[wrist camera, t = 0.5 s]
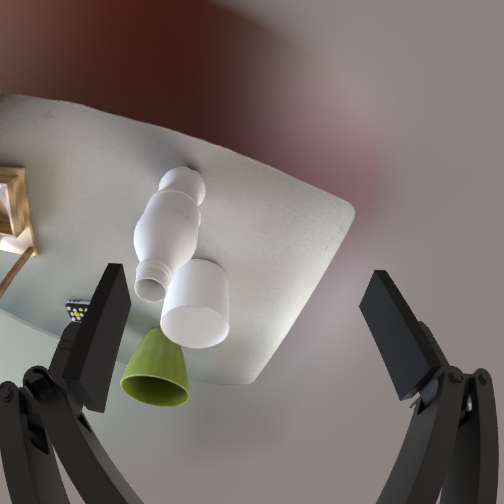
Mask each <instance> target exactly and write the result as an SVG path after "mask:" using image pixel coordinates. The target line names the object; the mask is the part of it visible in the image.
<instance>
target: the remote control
mask: <svg viewBox="0 0 504 504" xmlns="http://www.w3.org/2000/svg"><path fill="white" fill-rule="evenodd" d="M89 304H90V302H85V301H74V300H69V301H67V303H66V309H67V311H68V313H69V315H70V317H71V319H72V320H74V321H78V322H82V320H83V318H84V315H85V313H86V311H87V308H88V306H89Z"/></svg>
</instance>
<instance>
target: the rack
mask: <svg viewBox="0 0 504 504" xmlns="http://www.w3.org/2000/svg"><path fill="white" fill-rule="evenodd" d="M0 249H1V250H5V251H10V252H14V253H19V254H22V256H21V257H20V258H19V259H18V261H17V262H16V263H15V265H14V266H13V267H12V269H11V270H10V271H9V273H8V274H7V275H6V277H5V278H4V280H3V281H2V282H1V284H0V298H1V297H2V295H3V294H4V292H5V291H6V289H7V288H8V286H9V285H10V283H11V282H12V280H13V279H14V277H15V276H16V275H17V273H18V272H19V270H20V269H21V268H22V266H23V265H24V264H25V262H26V261H27V260H28V258H29V257H30V256H32V257H37V255H38V253H37V248H36V243H35V238H34V233H33V228H32V222H31V216H30V209H29V202H28V194H27V184H26V173H25V168H18V167H0Z"/></svg>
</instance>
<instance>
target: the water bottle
mask: <svg viewBox="0 0 504 504" xmlns="http://www.w3.org/2000/svg"><path fill="white" fill-rule="evenodd" d="M204 196H205V183H204V180H203V178H202V176H201V175H200V174H199V173H198V172H197V171H195V170H191V169H189V168H188V167H185V166H180V167H176V168H173V169H171V170H169V171H168V172H167V173H166V174H165V175H164V176H163V178H162V179H161V181H160V184H159V191H157V192H156V193H155V194H154V195H153V196H152V197H151V199H150V200H149V202H148V204H147V206H146V210H145V212H144V214H143V216H142V217H141V218H140V219H139V221H138V223H137V225H136V228H135V232H134V246H135V250H136V253H137V256H138V258H139V260H140V263H139V265H138V267H137V270H136V273H137V275H136V276H137V278H136V281H135V285H134V290H135V292H136V294H137V295H138V296H139V297H140V298H141V299H142V300H144V301H146V302H151V303H155V302H160V301H162V300H163V299H164V298H165V297H166V295H167V292H168V287H169V286H170V284H171V283H172V281H173V276H174V275H173V272H175V271H177V270H178V269H180V268H181V267H183V266H184V265H185V264H186V263H187V262H188V261H189V260H190V259H191V257H192V256H193V254H194V252H195V250H196V247H197V242H198V229H199V225H200V222H201V214H200V211H199V208H198V206H199V205H200V204H201V203H202V201H203V199H204Z"/></svg>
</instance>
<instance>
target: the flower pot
mask: <svg viewBox="0 0 504 504" xmlns="http://www.w3.org/2000/svg"><path fill="white" fill-rule="evenodd" d="M120 385H121V388H122V390H123V391H124V392H125V393H126V394H127V395H129V396H130V397H131V398H133V399H135V400H137V401H139V402H142V403H145V404H149V405H153V406H159V407H174V406H179V405H182V404H184V403H185V402H187V401H188V399H189V389H188V379H187V372H186V366H185V361H184V357H183V353H182V349H181V346H180V345H178V344H177V343H175V342H173V341H171V340H170V339H169V338H168V337H167V336H166V335H165V334H164V333H163V331H162V329H161V327H155V328H152V329H151V330H150V331H149V332H148V333H147V334H146V336H145V337H144V338H143V340H142V341H141V342H140V344H139V345H138V347H137V349H136V350H135V352H134V354H133V355H132V357H131V359H130V361H129V363H128V365H127V367H126V369H125V372H124V374H123V377H122V379H121V382H120Z"/></svg>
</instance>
